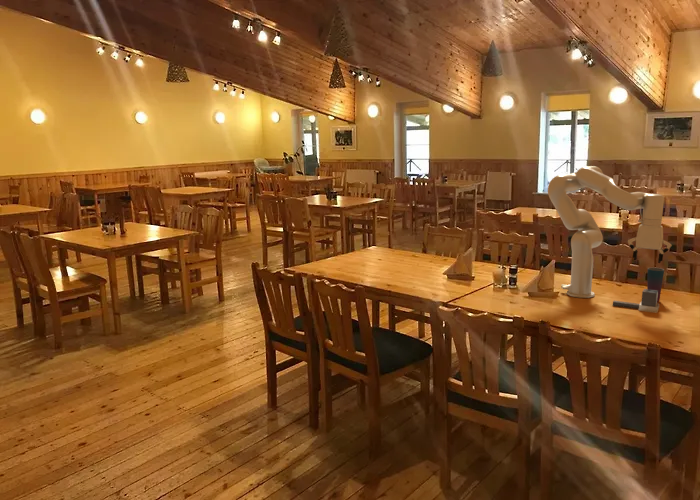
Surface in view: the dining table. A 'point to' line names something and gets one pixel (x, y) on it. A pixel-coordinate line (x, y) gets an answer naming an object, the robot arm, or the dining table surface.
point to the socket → (649, 297)
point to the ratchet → (637, 306)
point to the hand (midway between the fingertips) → (647, 260)
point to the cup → (655, 280)
